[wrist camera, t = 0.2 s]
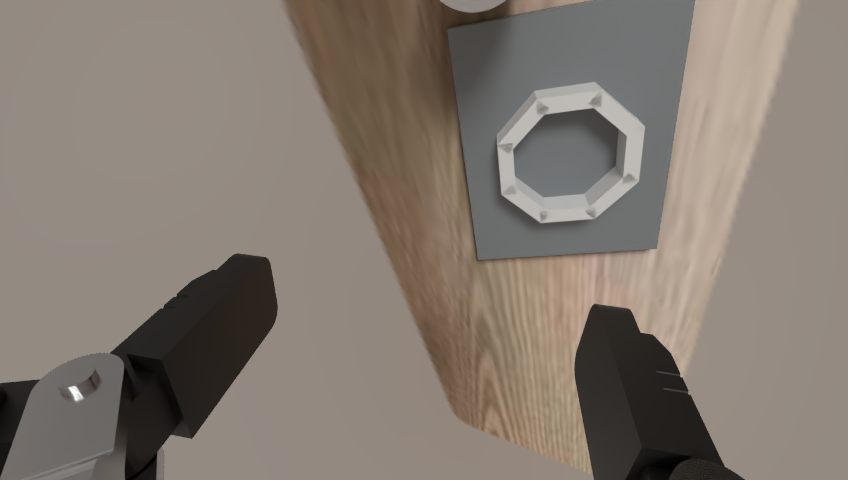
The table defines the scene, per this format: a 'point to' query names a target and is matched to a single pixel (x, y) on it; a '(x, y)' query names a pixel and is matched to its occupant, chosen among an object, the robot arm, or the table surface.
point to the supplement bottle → (472, 5)
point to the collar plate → (570, 124)
